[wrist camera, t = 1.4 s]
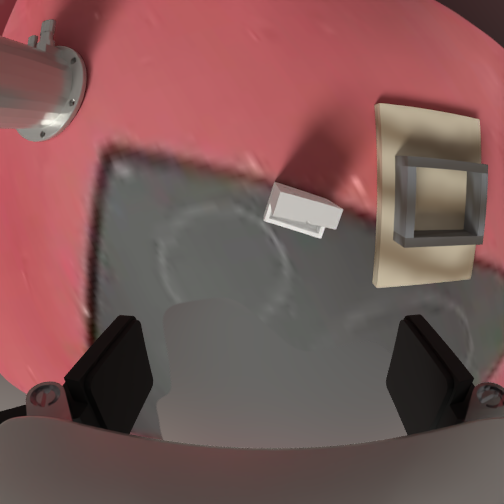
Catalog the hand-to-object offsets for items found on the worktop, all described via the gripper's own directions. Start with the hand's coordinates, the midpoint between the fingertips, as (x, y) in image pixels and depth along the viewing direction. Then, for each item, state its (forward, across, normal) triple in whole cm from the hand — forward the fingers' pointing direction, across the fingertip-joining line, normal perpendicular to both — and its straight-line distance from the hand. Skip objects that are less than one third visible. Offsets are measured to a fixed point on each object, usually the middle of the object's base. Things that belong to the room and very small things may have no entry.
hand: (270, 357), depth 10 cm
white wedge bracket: (+23, -3, -2) cm, 24 cm away
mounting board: (+24, -19, -3) cm, 30 cm away
